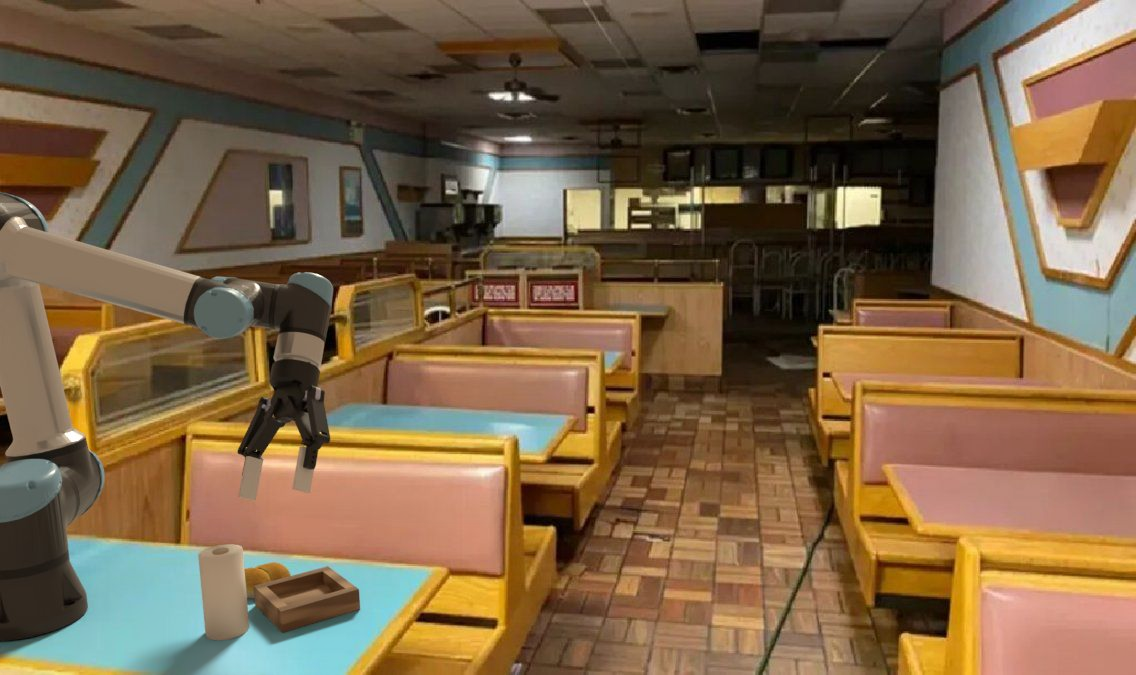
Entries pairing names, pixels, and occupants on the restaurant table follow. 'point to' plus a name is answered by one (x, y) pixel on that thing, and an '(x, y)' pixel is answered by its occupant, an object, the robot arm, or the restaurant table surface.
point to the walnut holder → (306, 598)
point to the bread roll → (263, 575)
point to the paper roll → (223, 591)
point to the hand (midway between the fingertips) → (273, 495)
